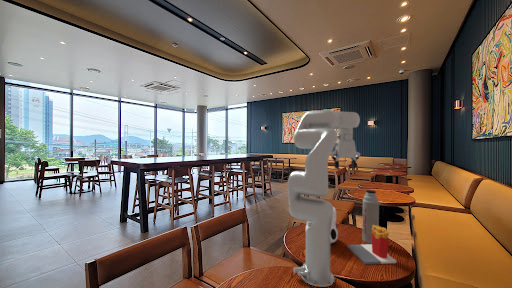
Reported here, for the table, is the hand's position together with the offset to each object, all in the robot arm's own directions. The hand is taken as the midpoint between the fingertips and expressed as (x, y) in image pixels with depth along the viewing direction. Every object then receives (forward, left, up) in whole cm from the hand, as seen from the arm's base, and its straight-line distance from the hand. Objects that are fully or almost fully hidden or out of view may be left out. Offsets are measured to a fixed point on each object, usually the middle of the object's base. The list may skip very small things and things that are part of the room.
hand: (345, 168), depth 119 cm
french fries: (+8, -18, -40) cm, 44 cm away
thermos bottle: (+14, -2, -40) cm, 43 cm away
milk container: (-13, +1, -41) cm, 43 cm away
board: (+4, -16, -40) cm, 44 cm away
